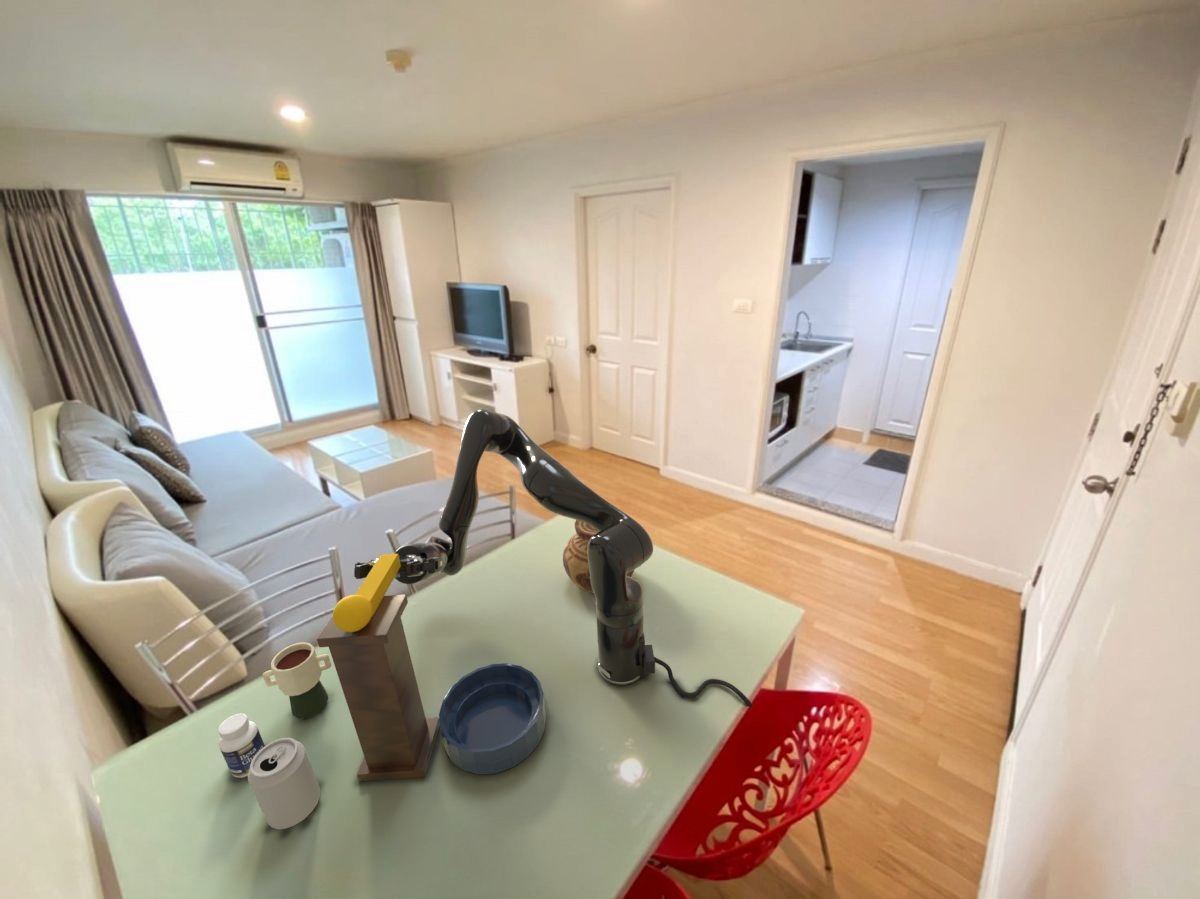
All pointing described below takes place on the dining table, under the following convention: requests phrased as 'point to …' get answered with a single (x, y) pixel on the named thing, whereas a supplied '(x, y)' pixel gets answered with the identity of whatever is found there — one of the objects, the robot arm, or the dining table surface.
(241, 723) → the pill bottle
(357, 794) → the dining table surface
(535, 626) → the dining table surface
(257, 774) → the can
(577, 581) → the clay pot
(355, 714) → the stand
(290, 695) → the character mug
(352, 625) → the yellow lever
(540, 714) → the bowl
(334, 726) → the dining table surface
